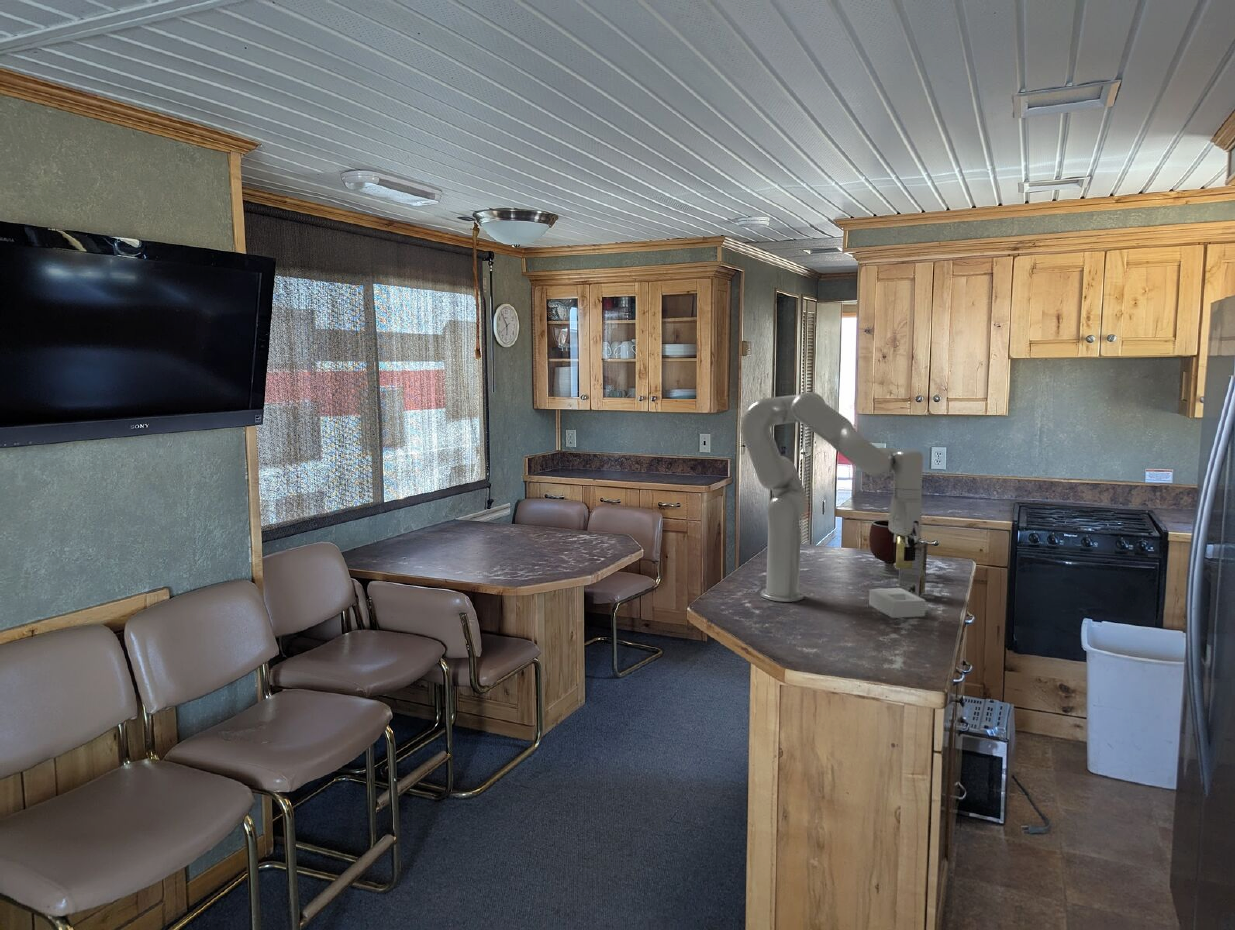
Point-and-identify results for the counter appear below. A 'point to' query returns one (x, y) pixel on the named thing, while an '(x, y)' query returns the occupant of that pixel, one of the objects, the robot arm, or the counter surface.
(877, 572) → the dark red goblet
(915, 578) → the coffee box
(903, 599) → the block
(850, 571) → the counter surface
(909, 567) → the cylinder
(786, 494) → the robot arm
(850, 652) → the counter surface
